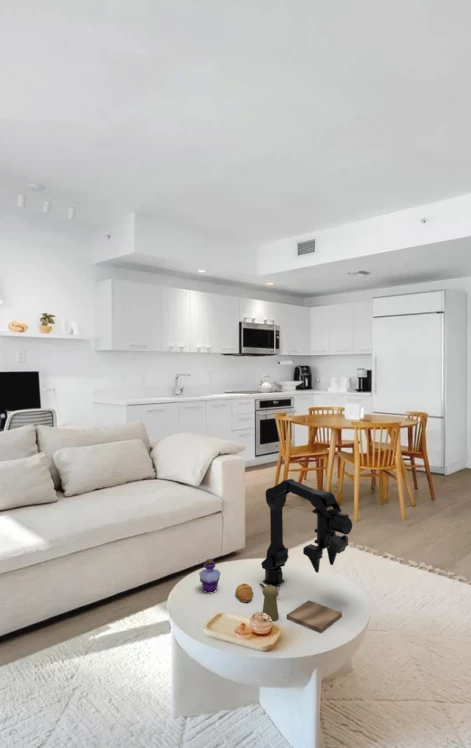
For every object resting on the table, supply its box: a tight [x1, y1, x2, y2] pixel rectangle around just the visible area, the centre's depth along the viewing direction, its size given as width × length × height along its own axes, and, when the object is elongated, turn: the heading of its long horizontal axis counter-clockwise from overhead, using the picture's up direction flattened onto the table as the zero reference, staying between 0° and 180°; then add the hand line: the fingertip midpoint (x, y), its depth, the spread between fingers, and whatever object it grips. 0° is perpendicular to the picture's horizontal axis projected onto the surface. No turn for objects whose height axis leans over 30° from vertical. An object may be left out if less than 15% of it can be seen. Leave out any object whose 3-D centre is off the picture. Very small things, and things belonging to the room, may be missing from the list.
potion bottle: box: [198, 558, 221, 593], centre depth 199 cm, size 9×9×12 cm
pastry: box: [235, 583, 254, 603], centre depth 193 cm, size 9×7×4 cm
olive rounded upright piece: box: [262, 584, 280, 623], centre depth 178 cm, size 6×6×11 cm
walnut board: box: [286, 600, 343, 634], centre depth 177 cm, size 14×14×2 cm
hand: (324, 568), depth 185 cm, fingers open, 9 cm apart
